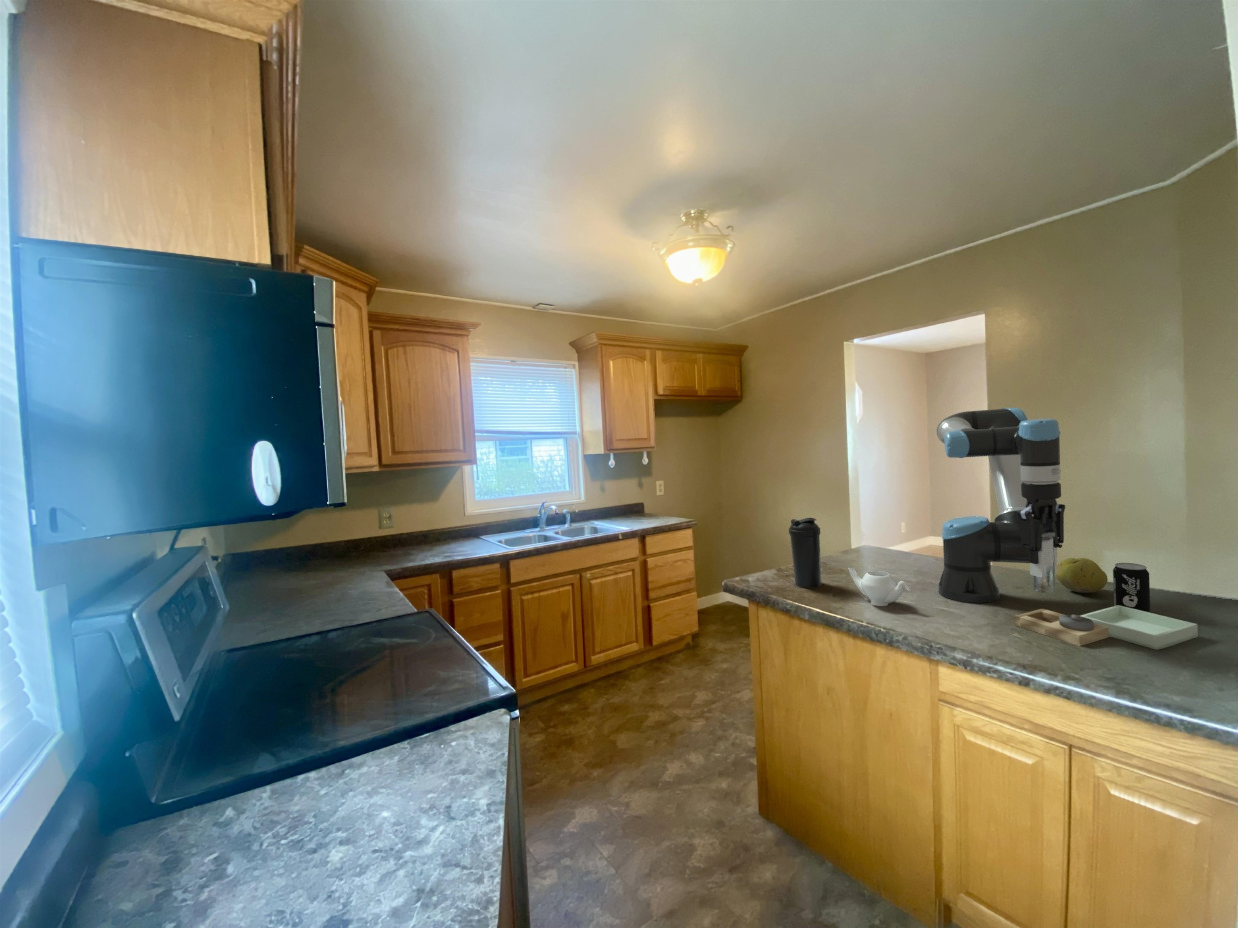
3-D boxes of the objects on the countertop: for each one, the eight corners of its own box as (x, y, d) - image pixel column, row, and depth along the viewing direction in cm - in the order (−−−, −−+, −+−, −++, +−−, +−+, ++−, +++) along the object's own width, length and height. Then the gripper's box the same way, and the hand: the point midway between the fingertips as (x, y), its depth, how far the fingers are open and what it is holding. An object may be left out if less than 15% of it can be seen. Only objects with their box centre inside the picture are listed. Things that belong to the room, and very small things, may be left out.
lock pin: (1027, 589, 126) (1025, 531, 125) (1040, 585, 128) (1038, 528, 126) (1048, 594, 122) (1046, 535, 120) (1061, 591, 123) (1059, 532, 122)
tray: (1079, 627, 123) (1079, 615, 122) (1118, 616, 127) (1118, 605, 127) (1157, 650, 109) (1156, 636, 109) (1197, 636, 113) (1197, 624, 113)
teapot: (902, 616, 138) (900, 584, 138) (840, 598, 156) (838, 569, 156) (922, 608, 143) (920, 576, 142) (860, 591, 161) (858, 563, 160)
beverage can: (1157, 615, 126) (1156, 568, 125) (1127, 615, 127) (1125, 569, 126) (1136, 605, 132) (1135, 561, 131) (1107, 606, 133) (1106, 562, 133)
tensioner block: (1015, 625, 127) (1014, 606, 127) (1042, 617, 130) (1041, 599, 130) (1079, 646, 114) (1078, 624, 113) (1108, 637, 116) (1108, 616, 116)
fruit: (1050, 593, 145) (1049, 560, 145) (1062, 583, 152) (1061, 551, 152) (1103, 602, 136) (1101, 566, 136) (1112, 591, 143) (1111, 557, 143)
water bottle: (828, 587, 167) (824, 520, 166) (798, 589, 168) (793, 522, 166) (817, 578, 178) (812, 515, 176) (788, 581, 178) (784, 517, 176)
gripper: (1032, 487, 117) (1035, 584, 118) (1082, 478, 121) (1084, 571, 123) (999, 484, 124) (1003, 576, 125) (1047, 476, 129) (1050, 564, 130)
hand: (1043, 573), depth 124 cm, fingers closed on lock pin, 4 cm apart
